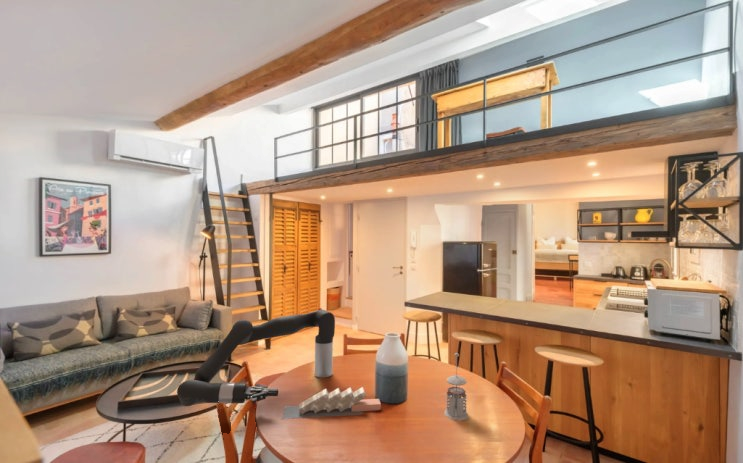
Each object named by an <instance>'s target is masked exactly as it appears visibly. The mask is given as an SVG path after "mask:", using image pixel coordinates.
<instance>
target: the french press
mask: <svg viewBox="0 0 743 463" xmlns="http://www.w3.org/2000/svg"><path fill="white" fill-rule="evenodd" d="M454 357H456V358H455V359H456V363H455V364H456V367H455V369H456V373H455V374H456V375H451V376H449V377H447V378H446V382H447V383H448V384H449V385H452V386H450V387H448V388H447V392H446V409H445V411H443V412H444V415H445V416H446V418H448V419H450V420H453V421H465V420H467V419H469V413H468V412H467V394H466V390H465V389H464V388H463V387H459V386H465V385H466V384H467V379H465V378H464V377H462V376H459V375H458V357H460V354H459V353H458V352H454Z"/></svg>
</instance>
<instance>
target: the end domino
mask: <svg viewBox="0 0 743 463" xmlns="http://www.w3.org/2000/svg"><path fill="white" fill-rule="evenodd" d="M381 405H382V404H381V401H380V398H368V399H366V398H364V399H362V400H360V401H359V402H357V403H355V404H354V405H352V406H351V410H352V412H353V411H362V412H366V411H367V412H369V411H381V410H382V406H381Z"/></svg>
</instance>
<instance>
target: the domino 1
mask: <svg viewBox="0 0 743 463" xmlns="http://www.w3.org/2000/svg"><path fill="white" fill-rule="evenodd" d="M329 393H330V392H329V391H328V389H327V388H324V389H322V390H321V391H320V392H318V393H316V394H314V395H312V396H311V397H309V398H307V399H306V400H303V401H302V402H300V403H299V406H300V408H299V410H300V411H301V413H302V414H304V413H305V412H307V411H309V410H310V409H312V408H314V407H316V406H317V405H319V404H321V403H322V402H324V401H326V400H328V399H329Z"/></svg>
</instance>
